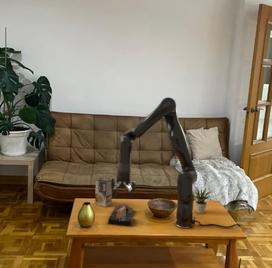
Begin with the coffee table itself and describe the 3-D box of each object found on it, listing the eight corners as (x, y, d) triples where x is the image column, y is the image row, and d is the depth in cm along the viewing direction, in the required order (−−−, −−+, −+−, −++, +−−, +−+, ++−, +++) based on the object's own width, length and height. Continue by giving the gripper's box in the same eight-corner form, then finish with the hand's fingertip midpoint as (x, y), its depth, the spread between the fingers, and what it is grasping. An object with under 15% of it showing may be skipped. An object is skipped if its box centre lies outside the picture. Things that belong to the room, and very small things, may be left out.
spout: (122, 214, 214) (123, 205, 213) (125, 214, 213) (126, 206, 212) (116, 218, 206) (117, 210, 205) (119, 219, 205) (120, 210, 205)
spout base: (133, 218, 215) (133, 213, 215) (130, 227, 203) (130, 222, 203) (112, 216, 217) (112, 211, 216) (107, 225, 205) (107, 219, 204)
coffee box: (111, 204, 235) (113, 180, 233) (105, 207, 230) (106, 182, 227) (100, 201, 240) (101, 177, 237) (94, 203, 235) (95, 179, 232)
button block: (133, 211, 227) (133, 205, 226) (130, 216, 218) (131, 210, 217) (115, 209, 228) (116, 203, 227) (112, 214, 219) (113, 208, 218)
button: (126, 206, 224) (127, 203, 223) (125, 208, 220) (126, 206, 220) (121, 206, 224) (121, 203, 224) (120, 208, 221) (120, 205, 220)
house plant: (212, 218, 223) (215, 193, 220) (189, 215, 225) (192, 190, 222) (211, 209, 237) (214, 185, 234) (190, 207, 239) (192, 183, 236)
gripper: (137, 169, 210) (136, 196, 213) (114, 166, 214) (113, 192, 217) (133, 173, 203) (132, 200, 206) (110, 169, 207) (108, 196, 210)
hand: (122, 196), depth 212 cm, fingers open, 8 cm apart
